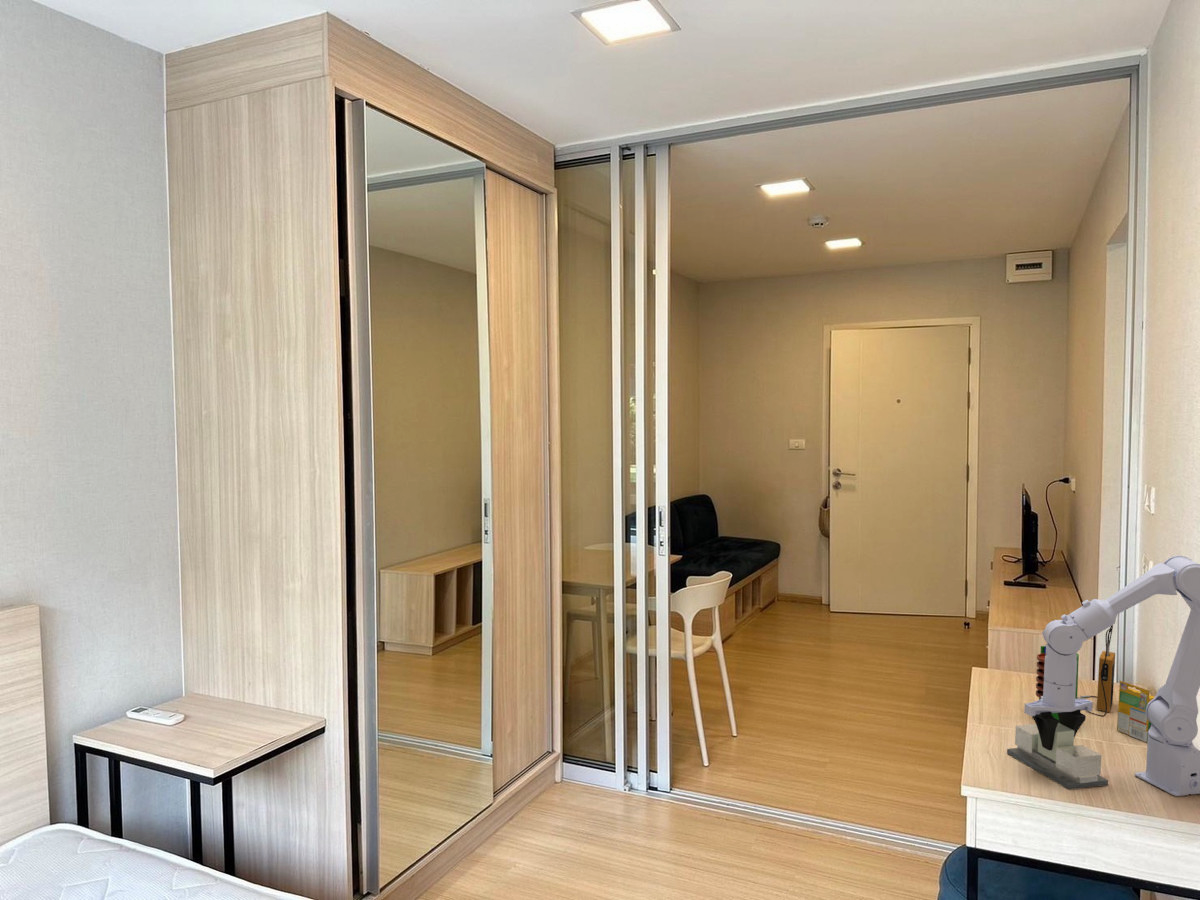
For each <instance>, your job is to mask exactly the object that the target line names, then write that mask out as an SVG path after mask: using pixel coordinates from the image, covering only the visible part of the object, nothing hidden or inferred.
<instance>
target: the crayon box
mask: <svg viewBox="0 0 1200 900" xmlns="http://www.w3.org/2000/svg"><path fill="white" fill-rule="evenodd" d="M1129 687H1130V688H1129ZM1133 688H1134V689H1133ZM1154 697H1155V695H1151V694H1150V690H1149V689H1146V688H1143V687H1140V686H1138V685H1134V684H1131V683H1129V682H1125V681H1123V680H1119V690H1118V704H1117V705H1118V706H1117V707H1118V708H1117V719H1116V720H1117V721H1116V731H1117V732H1119V733H1123V734H1125V735H1127V736H1130V737H1132V738H1135V739H1137V740H1140V741H1143V742H1144V743H1148V731H1149V729H1150V727H1151V724H1152V723H1151V722H1150V721H1149V720H1148V719H1147V716H1146V706H1147V704H1148V703H1149V702H1150V701H1151V700H1152V699H1153V698H1154Z"/></svg>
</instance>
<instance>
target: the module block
mask: <svg viewBox="0 0 1200 900" xmlns="http://www.w3.org/2000/svg"><path fill="white" fill-rule="evenodd" d="M1074 743H1075V738H1074V730H1072V729H1070V728H1068V727H1066V726H1064V725H1062V724H1060V723H1058V725H1057V727H1056V731H1055V735H1054V743H1053V748H1052V750H1047V749H1046V748H1044V747H1042V743H1041V739H1040V734H1039V732H1038V752H1039V753H1041V754H1043V755H1045V756H1046V757H1048V758H1050V759H1052V760H1054V761H1056V750H1057V747H1066V746H1075V744H1074Z"/></svg>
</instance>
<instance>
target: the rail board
mask: <svg viewBox="0 0 1200 900" xmlns="http://www.w3.org/2000/svg"><path fill="white" fill-rule="evenodd" d="M1038 732H1039V731H1038V728H1037V725H1036V723H1032V724H1031V723H1030V724H1021V725H1015V735H1014V745H1015V746H1017V747H1015V748H1014V747H1012V748H1007V749H1006V754H1007V755H1009V756H1010V757H1012V758H1014V759H1016V760H1018V761H1019V762H1021V763H1022V764H1024V765H1026V766H1028V767H1029V768H1031V769H1033V770H1035V771H1036V772H1037V773H1040V774H1042V775H1043V776H1045V777H1047V778H1048V779H1050V780H1051V781H1053V782H1055V783H1057V784H1058V785H1060V786H1062V787H1063V788H1065V789H1067V790H1076V789H1077V790H1078V789H1084V788H1085V787H1087V788H1093V787H1094V786H1096V787H1103V786H1108V785H1109V779H1107V778H1106V777H1103V776H1102V775H1101V770H1102V769H1101V768H1102V754H1101V753H1098V752H1097V751H1095V750H1093V749H1091V748H1089V747H1086V746H1085V745H1084V744H1080V745H1079V744H1078V745H1074V746H1066V747H1057V750H1056V761H1054V760H1052V759H1050V758H1048V757H1046V756H1045V755H1043V754H1041V753H1039V752H1038Z"/></svg>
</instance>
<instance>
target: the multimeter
mask: <svg viewBox="0 0 1200 900" xmlns="http://www.w3.org/2000/svg"><path fill="white" fill-rule="evenodd" d="M1113 628H1114V624H1113V625H1112V626H1110V627H1109V628H1108V629H1107V630H1106V632H1105V650H1103V651H1102V652H1101V654H1100V656H1099V659H1098V679H1097V693H1096V694H1097V695H1080V696H1077V699H1087V698H1096V710H1097V711H1101V712H1104V715H1100V714H1097V713H1094V712H1092V711H1086V712H1088V713H1090V714H1091V715H1096V716H1098V717H1106V715H1107V713H1110V712H1111V709H1112V707H1113V700H1114V699H1113V698H1114V687H1115V686H1114V683H1115V666H1116V665H1115V664H1116V652H1112V651H1110V645H1111V640H1112V634H1113Z"/></svg>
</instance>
